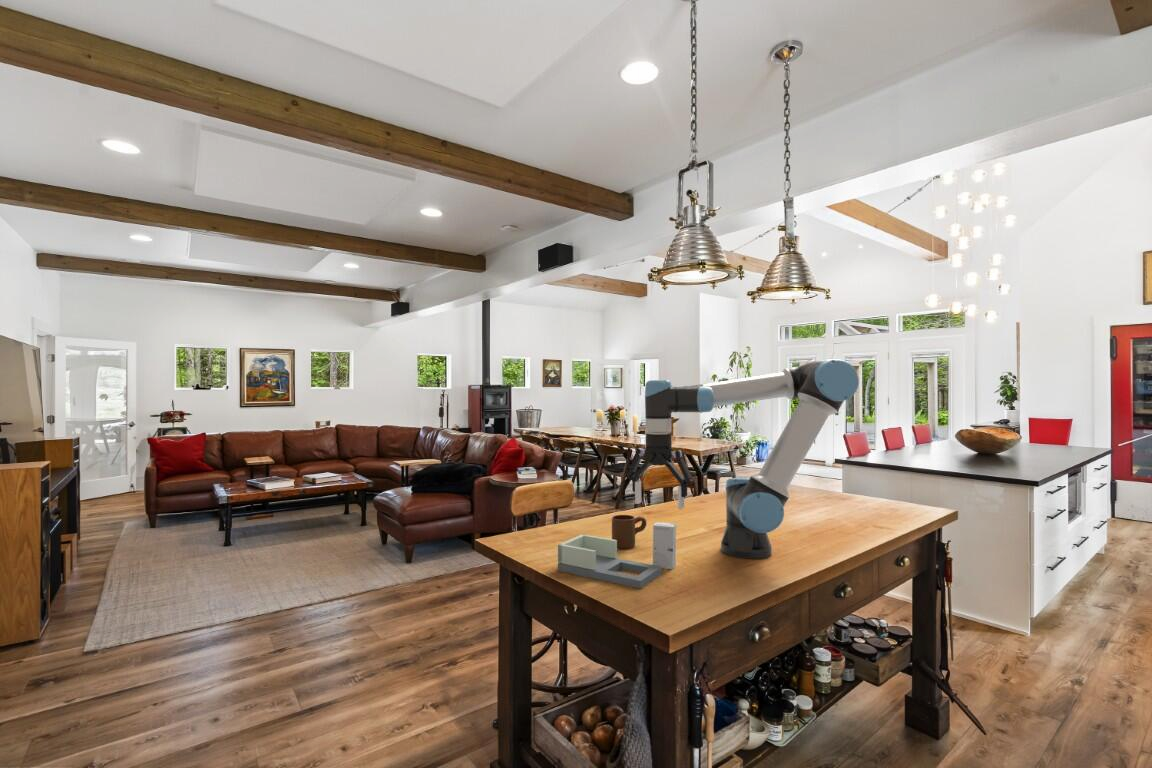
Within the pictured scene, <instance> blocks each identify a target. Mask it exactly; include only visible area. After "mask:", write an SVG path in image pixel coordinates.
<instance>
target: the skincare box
mask: <svg viewBox="0 0 1152 768" xmlns="http://www.w3.org/2000/svg"><path fill="white" fill-rule="evenodd" d="M652 529H653V530H652V532H653V533H652V565H655V566H661V567H662V569H665V570H666V569H667V570H673V569H674V568H675V566H676V557H677V555H676V554H677V544H676V543H677V524H676V523H669V522H658V521H656V522H655V523H654V524H653V527H652Z"/></svg>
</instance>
